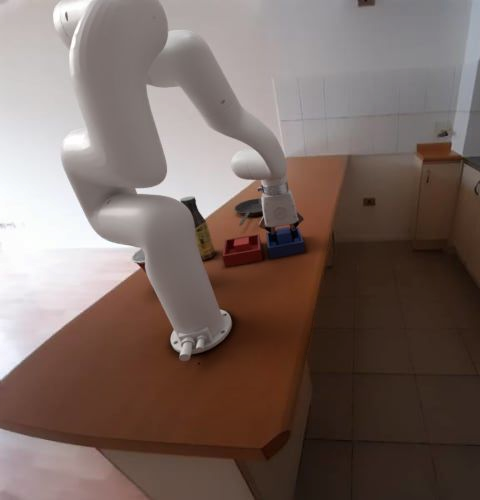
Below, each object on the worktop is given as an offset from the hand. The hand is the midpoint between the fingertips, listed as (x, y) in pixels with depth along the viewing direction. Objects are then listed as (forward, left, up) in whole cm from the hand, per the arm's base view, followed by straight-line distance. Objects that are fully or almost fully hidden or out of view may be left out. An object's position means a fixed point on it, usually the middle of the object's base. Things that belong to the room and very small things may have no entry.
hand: (285, 241), depth 92 cm
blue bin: (0, 0, -2) cm, 2 cm away
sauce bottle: (+4, +26, -3) cm, 27 cm away
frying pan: (+32, +11, -3) cm, 34 cm away
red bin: (0, +14, -2) cm, 14 cm away
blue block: (0, 0, -1) cm, 1 cm away
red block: (0, +14, -2) cm, 14 cm away
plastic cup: (-10, +34, -3) cm, 36 cm away
